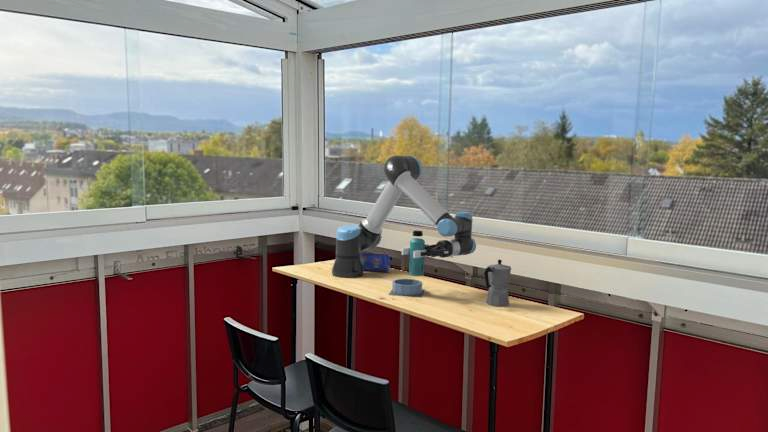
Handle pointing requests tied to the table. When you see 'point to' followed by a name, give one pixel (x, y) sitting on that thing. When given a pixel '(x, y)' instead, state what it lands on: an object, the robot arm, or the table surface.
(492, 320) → the table surface
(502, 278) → the coffeepot
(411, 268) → the beverage bottle
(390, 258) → the pencil case
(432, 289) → the table surface
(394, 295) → the mat
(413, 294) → the bowl
